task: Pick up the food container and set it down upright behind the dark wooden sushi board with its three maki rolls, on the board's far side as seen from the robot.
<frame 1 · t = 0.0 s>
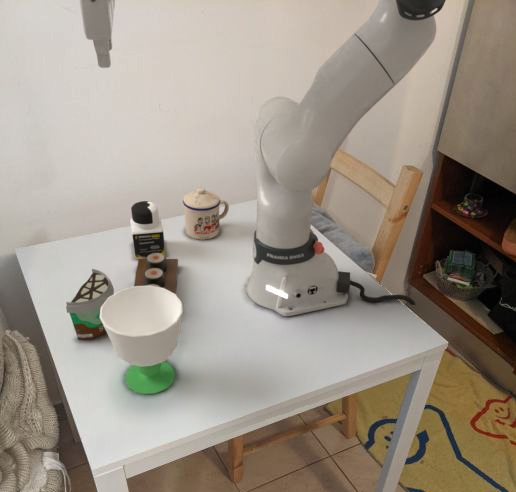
hand: (106, 57, 87), 48 cm above the table, tool pointing down, fingers open, 8 cm apart
sushi board: (155, 291, 122), on the table
teacup with lid: (207, 230, 142), on the table
cup: (150, 377, 102), on the table
food container: (102, 328, 112), on the table
medicine bottle: (149, 251, 134), on the table
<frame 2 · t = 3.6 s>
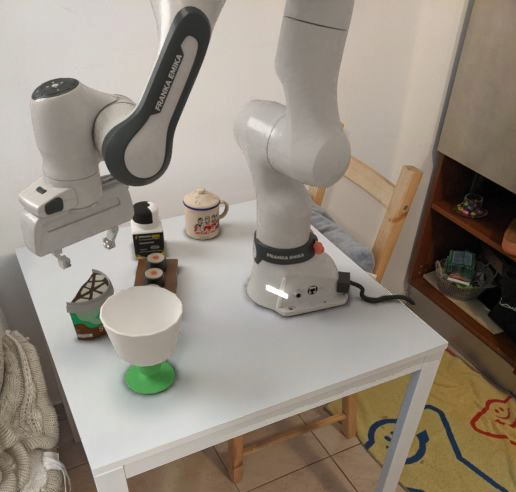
hand: (88, 256, 101), 17 cm above the table, tool pointing down, fingers open, 8 cm apart
nothing on the table moved.
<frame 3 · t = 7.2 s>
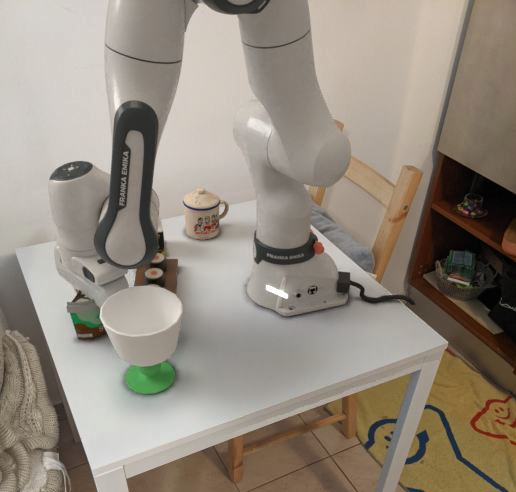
hand: (96, 312, 109), 4 cm above the table, tool pointing down, fingers closed on food container, 7 cm apart
food container: (102, 328, 112), on the table, touching gripper
everything else where it was.
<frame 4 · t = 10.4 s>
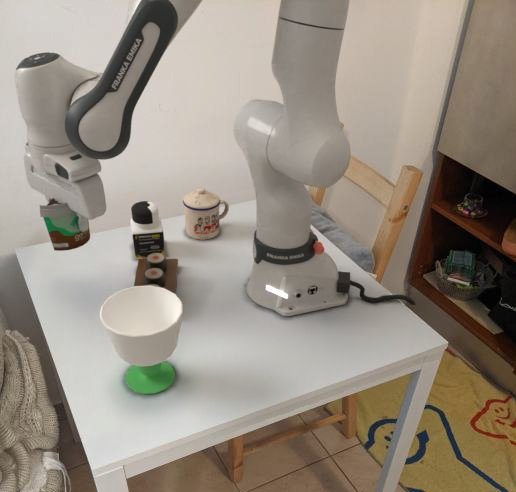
hand: (71, 222, 109), 17 cm above the table, tool pointing down, fingers closed on food container, 6 cm apart
food container: (79, 241, 112), point 13 cm above the table, touching gripper
everything else where it was.
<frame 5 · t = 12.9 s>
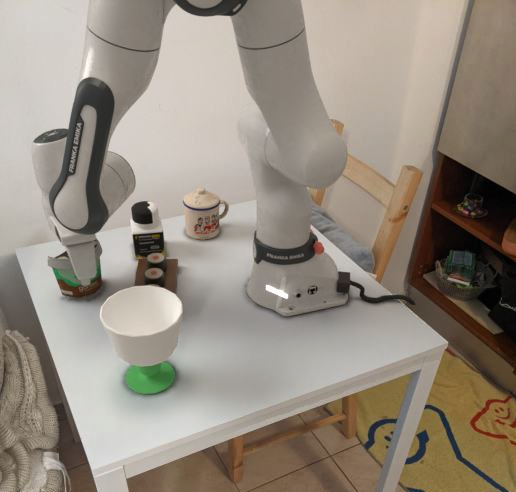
hand: (82, 273, 117), 5 cm above the table, tool pointing down, fingers closed on food container, 6 cm apart
food container: (89, 290, 120), point 1 cm above the table, touching gripper
everything else where it was.
when the fingers open (4 cm above the table, at t = 13.7 s): food container stays where it is, on the table.
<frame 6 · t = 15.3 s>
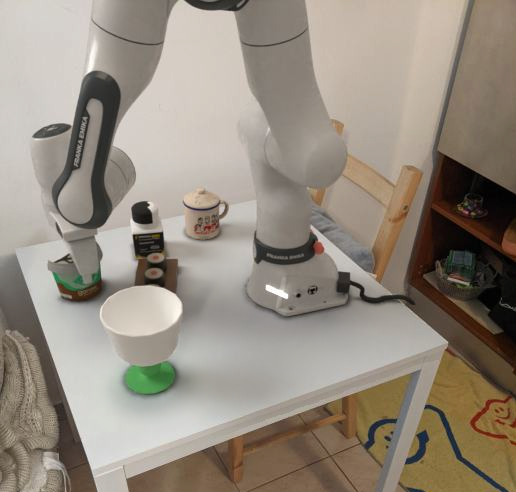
hand: (81, 270, 117), 6 cm above the table, tool pointing down, fingers open, 8 cm apart
food container: (88, 294, 120), on the table, touching gripper
everything else where it was.
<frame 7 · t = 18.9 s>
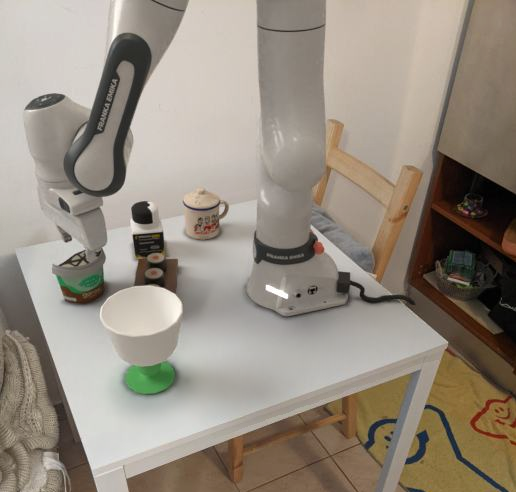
hand: (78, 249, 113), 11 cm above the table, tool pointing down, fingers open, 8 cm apart
food container: (91, 296, 120), on the table
everything else where it was.
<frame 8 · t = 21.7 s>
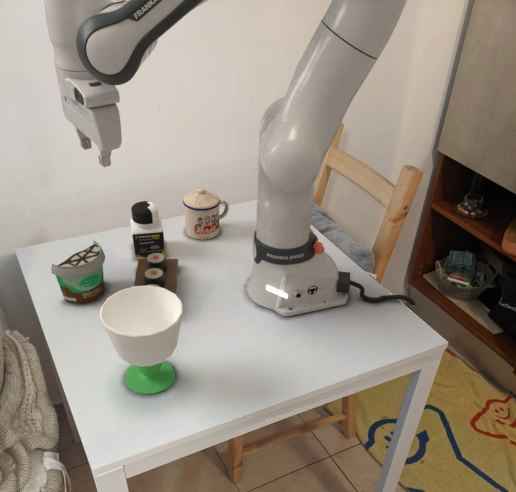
hand: (95, 156, 109), 27 cm above the table, tool pointing down, fingers open, 8 cm apart
nothing on the table moved.
at the end: food container inside the target area on the table beside the sushi board (1.7 cm from its centre), on the table; food container tilted 0°; the gripper is holding nothing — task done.
